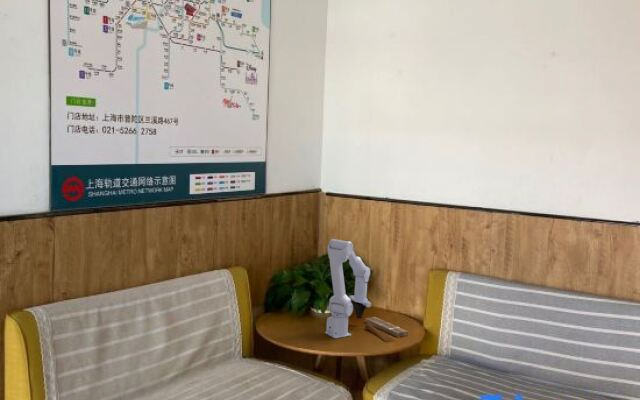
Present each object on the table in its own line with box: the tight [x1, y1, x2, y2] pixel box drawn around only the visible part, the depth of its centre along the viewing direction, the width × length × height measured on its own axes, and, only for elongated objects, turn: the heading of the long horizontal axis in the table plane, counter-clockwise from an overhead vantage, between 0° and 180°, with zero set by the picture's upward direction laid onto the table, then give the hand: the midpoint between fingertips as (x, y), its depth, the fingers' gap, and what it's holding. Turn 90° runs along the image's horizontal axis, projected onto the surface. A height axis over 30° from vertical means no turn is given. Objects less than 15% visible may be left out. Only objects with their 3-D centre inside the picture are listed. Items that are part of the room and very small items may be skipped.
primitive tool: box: [364, 323, 396, 343], centre depth 265 cm, size 19×6×4 cm, turn 32°
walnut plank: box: [364, 316, 409, 338], centre depth 275 cm, size 6×24×2 cm, turn 34°
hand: (358, 318), depth 277 cm, fingers closed
